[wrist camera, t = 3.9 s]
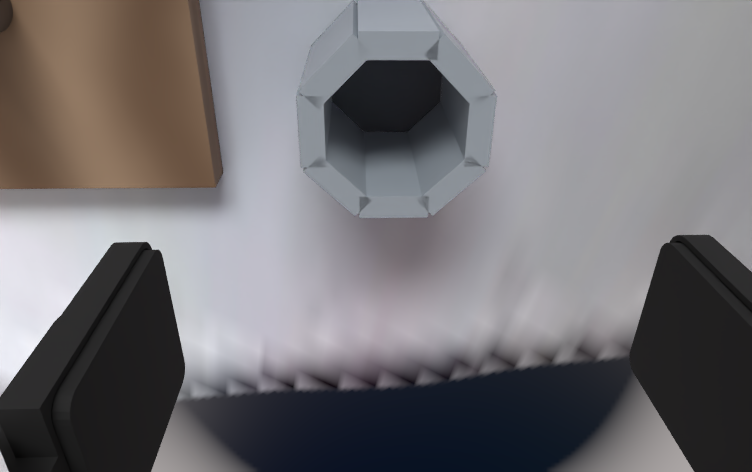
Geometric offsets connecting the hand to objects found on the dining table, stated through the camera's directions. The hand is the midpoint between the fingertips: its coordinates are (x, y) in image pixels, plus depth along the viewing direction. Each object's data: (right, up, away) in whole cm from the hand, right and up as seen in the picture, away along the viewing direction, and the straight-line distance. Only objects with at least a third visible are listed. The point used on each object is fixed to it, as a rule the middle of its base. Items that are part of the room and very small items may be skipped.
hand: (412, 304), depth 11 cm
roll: (0, +8, +12) cm, 14 cm away
